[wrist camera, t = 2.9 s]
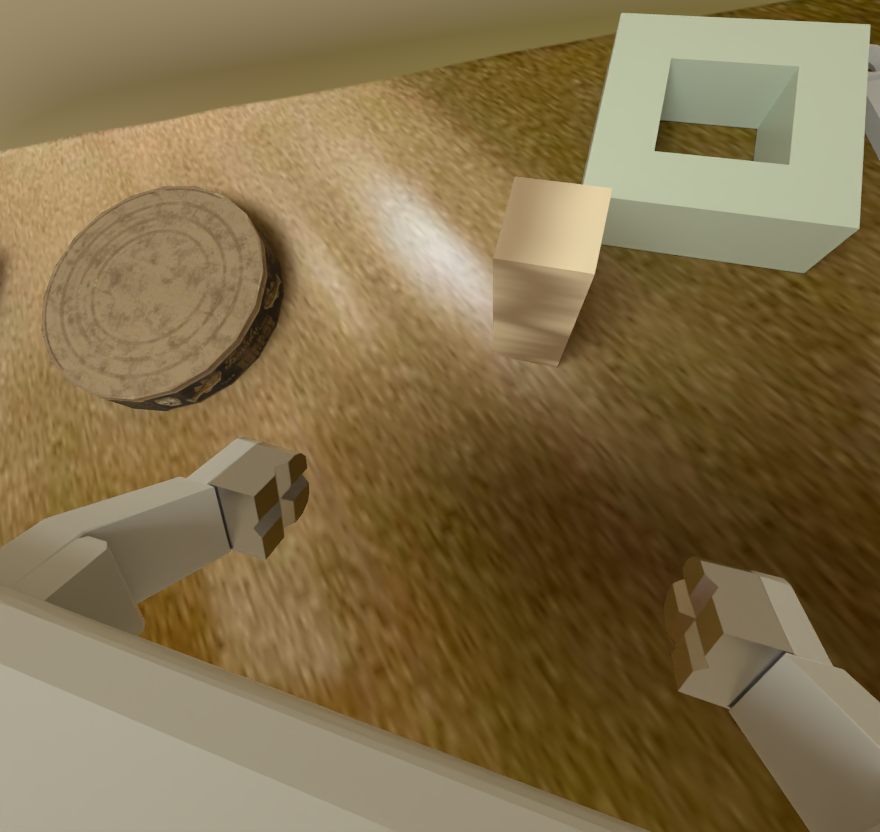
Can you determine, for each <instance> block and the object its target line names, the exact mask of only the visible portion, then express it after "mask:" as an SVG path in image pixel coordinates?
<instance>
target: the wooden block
mask: <svg viewBox="0 0 880 832" xmlns="http://www.w3.org/2000/svg"><path fill="white" fill-rule="evenodd" d="M611 193H612V188H606V187H598V186H589V185H581V184H573V183H564V182H556V181H548V180H539V179H531V178H522V177H515V178H514V182H513V186H512V189H511V193H510V197H509V201H508V204H507V208H506V212H505V216H504V219H503V223H502V227H501V231H500V234H499V238H498V242H497V246H496V249H495V253H494V257H493V355H497V356H502V357H507V358H512V359H517V360H522V361H528V362H533V363H538V364H543V365H548V366H553V367H557V366H558V364H559V362H560V359H561V357H562V354H563V352H564V349H565V347H566V344H567V342H568V339H569V337H570V334H571V332H572V329H573V327H574V324H575V322H576V319H577V317H578V315H579V312H580V310H581V307H582V305H583V302H584V300H585V297H586V295H587V292H588V290H589V287H590V285H591V282H592V280H593V277H594V275H595V271H596V266H597V261H598V256H599V251H600V247H601V242H602V237H603V232H604V227H605V222H606V217H607V212H608V208H609V203H610V198H611Z"/></svg>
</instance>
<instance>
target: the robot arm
mask: <svg viewBox="0 0 880 832" xmlns="http://www.w3.org/2000/svg"><path fill="white" fill-rule="evenodd" d="M306 469H307V463H306V456H304V455H303V454H302V453H299V452H296V451H292V450H289V449H285V448H282V447H279V446H275V445H272V444H268V443H265V442H259V441H256V440H253V439H249V438H246V437H242V438H237V439H236V440H234V441H233V442H232V443H231V444H229V445H228V446H227V447H225V448H224V449H223V450H222V451H220V452H219V453H218V454H217V455H215V456H214V457H213V458H212V459H210V460H209V461H208V462H206V463H205V464H204V465H203V466H201V467H200V468H199V469H198V470H196V471H195V472H194V473H193V474H191V475H190V476H189V477H187V478H183V477H178V478H174V479H171V480H168V481H165V482H161V483H158V484H155V485H152V486H149V487H145V488H142V489H139V490H136V491H132V492H129V493H126V494H123V495H120V496H116V497H113V498H110V499H107V500H103V501H100V502H97V503H94V504H91V505H87V506H84V507H81V508H78V509H74V510H71V511H68V512H65V513H62V514H58V515H55V516H52V517H49V518H45V519H44V520H42V521H41V522H39V523H38V524H36V525H35V526H33V527H31V528H30V529H28V530H27V531H25V532H24V533H22V534H21V535H19V536H18V537H16V538H15V539H13V540H12V541H10V542H9V543H7V544H6V545H4V546H3V547H1V548H0V832H651V831H648V830H646V829H643V828H640V827H638V826H635V825H633V824H630V823H627V822H625V821H622V820H619V819H617V818H614V817H612V816H609V815H606V814H604V813H601V812H598V811H596V810H593V809H591V808H588V807H585V806H583V805H580V804H577V803H575V802H572V801H570V800H567V799H564V798H562V797H559V796H556V795H554V794H551V793H549V792H546V791H543V790H541V789H538V788H535V787H533V786H530V785H527V784H525V783H522V782H520V781H517V780H514V779H512V778H509V777H506V776H504V775H501V774H499V773H496V772H493V771H491V770H488V769H485V768H483V767H480V766H478V765H475V764H472V763H470V762H467V761H464V760H462V759H459V758H457V757H454V756H451V755H449V754H446V753H443V752H441V751H438V750H436V749H433V748H430V747H428V746H425V745H422V744H420V743H417V742H415V741H412V740H409V739H407V738H404V737H401V736H399V735H396V734H394V733H391V732H388V731H386V730H383V729H380V728H378V727H375V726H372V725H370V724H367V723H365V722H362V721H359V720H357V719H354V718H351V717H349V716H346V715H344V714H341V713H338V712H336V711H333V710H330V709H328V708H325V707H323V706H320V705H317V704H315V703H312V702H309V701H307V700H304V699H302V698H299V697H296V696H294V695H291V694H288V693H286V692H283V691H280V690H278V689H275V688H273V687H270V686H267V685H265V684H262V683H259V682H257V681H254V680H252V679H249V678H246V677H244V676H241V675H238V674H236V673H233V672H230V671H228V670H225V669H223V668H220V667H217V666H215V665H212V664H209V663H207V662H204V661H202V660H199V659H196V658H194V657H191V656H188V655H186V654H183V653H180V652H178V651H175V650H173V649H170V648H167V647H165V646H162V645H159V644H157V643H154V642H152V641H149V640H146V639H144V638H141V637H138V635H139V634H140V633H141V632H142V631H143V630H144V629H145V620H144V618H143V616H142V614H141V612H140V610H139V608H138V606H137V604H138V603H139V602H141V601H143V600H145V599H147V598H148V597H150V596H152V595H154V594H156V593H157V592H159V591H161V590H163V589H165V588H166V587H168V586H170V585H172V584H174V583H175V582H177V581H179V580H181V579H183V578H184V577H186V576H188V575H190V574H192V573H193V572H195V571H197V570H199V569H201V568H202V567H204V566H206V565H208V564H210V563H211V562H213V561H215V560H217V559H219V558H220V557H222V556H224V555H226V554H228V553H229V552H230V550H234V551H237V552H241V553H244V554H248V555H251V556H255V557H258V558H262V559H265V560H266V559H267V558H268V557H269V555H270V554H271V553H272V551H273V550H274V549H275V548H276V546H277V545H278V544H279V543H280V541H281V540H282V539H283V538H284V527H286V526H289V525H291V524H293V523H295V522H296V521H297V520H298V519H299V517H300V516H301V515H302V513H303V511H304V509H305V507H306V504H307V502H308V497H309V483H308V482H307V480H306V479H305V477H304V476H303V475H302V473H303V472H304V471H305V470H306ZM682 572H683V575H684V579H683V580H680V581H678V582H675V583H673V584H672V586H671V587H670V589H669V591H668V593H667V595H666V599H665V604H664V623H665V629H666V633H667V634H668V635H669V637H670V638H671V639H672V640H673V642H674V643H675V644H676V645H677V646H676V647H675V649H674V650H673V652H672V653H671V660H672V665H673V670H674V675H675V680H676V685H677V690H678V691H679V692H682V693H684V694H687V695H690V696H693V697H696V698H699V699H702V700H705V701H707V702H710V703H713V704H716V705H719V706H722V707H725V708H728V709H730V710H729V713H730V714H731V716H732V717H733V719H734V720H735V722H736V723H737V725H738V726H739V727H740V729H741V730H742V732H743V733H744V735H745V736H746V738H747V739H748V741H749V742H750V744H751V745H752V747H753V748H754V750H755V751H756V753H757V754H758V756H759V757H760V759H761V760H762V761H763V763H764V764H765V766H766V767H767V769H768V770H769V772H770V773H771V775H772V776H773V778H774V779H775V781H776V782H777V784H778V785H779V787H780V788H781V790H782V791H783V793H784V794H785V795H786V797H787V798H788V800H789V801H790V803H791V804H792V806H793V807H794V809H795V810H796V812H797V813H798V815H799V816H800V818H801V819H802V821H803V822H804V824H805V825H806V827H807V828H808V829H809V831H810V832H880V702H878V701H877V700H876V699H875V698H874V697H873V696H872V695H871V694H870V693H869V692H868V691H867V690H865V689H864V688H863V687H862V686H861V685H860V684H859V683H858V682H857V681H856V680H855V679H853V678H852V677H851V676H850V675H849V674H848V673H847V672H846V671H845V670H843V669H840V668H837V667H833V665H832V663H831V661H830V659H829V657H828V655H827V654H826V652H825V650H824V648H823V646H822V644H821V642H820V640H819V638H818V636H817V634H816V632H815V631H814V629H813V627H812V625H811V623H810V621H809V619H808V617H807V615H806V613H805V611H804V609H803V608H802V606H801V604H800V602H799V600H798V598H797V596H796V594H795V592H794V590H793V588H792V586H791V585H790V584H789V583H788V582H787V581H786V580H785V579H784V578H780V577H776V576H772V575H768V574H764V573H760V572H756V571H749V570H747V569H743V568H739V567H735V566H731V565H727V564H723V563H719V562H715V561H711V560H708V559H704V558H700V557H696V556H692V557H691V558H689V559H688V560H687V561H686V563H685V564H684V566H683V567H682Z"/></svg>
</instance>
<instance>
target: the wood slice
mask: <svg viewBox="0 0 880 832" xmlns="http://www.w3.org/2000/svg"><path fill="white" fill-rule="evenodd" d="M282 298H283V285H282V277H281V269H280V263H279V261H278V259H277V257H276V256H275V254H274V252H273V250H272V248H271V246H270V244H269V243H268V241H267V239H266V238H265V237H264V235H263V234H262V233H261V231H260V230H259V229H258V228H257V226H256V225H255V224H254V223H253V221H252V220H251V219H250V218H249V216H248V215H247V214H246V213H245V212H244V211H243V210H241V209H240V208H239V207H238V206H236V205H235V204H234V203H233V202H232V201H230V200H229V199H228V198H227V197H225V196H224V195H221V194H218V193H215V192H212V191H209V190H206V189H203V188H200V187H197V186H164V187H161V188H157V189H154V190H150V191H147V192H143V193H140V194H136V195H133V196H131V197H129V198H127V199H125V200H123V201H122V202H120V203H118V204H116V205H115V206H113V207H111V208H109V209H108V210H106V211H104V212H102V213H101V214H100V215H99V216H98V217H97V218H95V219H94V220H93V221H92V222H91V223H90V224H89V225H88V226H87V227H86V228H85V229H83V230H82V231H81V232H80V233H79V234H78V235H77V236H76V237H75V238H74V239H73V241H72V242H71V244H70V245H69V247H68V248H67V250H66V251H65V253H64V254H63V255H62V257H61V258H60V260H59V261H58V263H57V264H56V266H55V268H54V271H53V273H52V276H51V279H50V281H49V284H48V287H47V290H46V292H45V295H44V298H43V312H42V328H41V331H42V334H43V338H44V341H45V344H46V348H47V351H48V354H49V358H50V360H51V361H52V363H53V364H54V365H55V366H56V367H57V369H58V370H59V371H60V372H61V373H62V374H63V376H64V377H65V378H66V379H67V380H68V382H69V383H71V384H73V385H75V386H77V387H79V388H81V389H83V390H85V391H87V392H89V393H91V394H93V395H95V396H97V397H100V398H103V399H106V400H109V401H112V402H115V403H118V404H122V405H125V406H128V407H131V408H134V409H146V410H159V411H169V410H173V409H177V408H181V407H185V406H189V405H193V404H197V403H201V402H203V401H204V400H206V399H208V398H209V397H211V396H213V395H215V394H216V393H218V392H220V391H221V390H223V389H225V388H227V387H228V386H230V385H232V384H233V383H234V382H235V381H236V380H237V379H238V378H239V377H240V376H241V375H242V374H243V373H244V372H245V371H246V370H247V369H248V368H249V367H250V366H251V365H252V364H253V363H254V362H255V361H256V360H257V359H258V358H259V356H260V355H261V353H262V351H263V349H264V347H265V346H266V344H267V342H268V340H269V338H270V337H271V335H272V333H273V331H274V329H275V328H276V326H277V321H278V317H279V312H280V307H281V303H282Z"/></svg>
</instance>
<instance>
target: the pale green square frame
mask: <svg viewBox="0 0 880 832" xmlns="http://www.w3.org/2000/svg"><path fill="white" fill-rule="evenodd" d="M869 41H870V25H868V24H847V23H825V22H804V21H783V20H761V19H740V18H719V17H697V16H676V15H654V14H653V15H652V14H633V13H621V17H620V21H619V25H618V29H617V33H616V37H615V41H614V45H613V49H612V53H611V57H610V61H609V65H608V69H607V73H606V77H605V81H604V86H603V90H602V95H601V99H600V103H599V108H598V112H597V117H596V121H595V126H594V130H593V135H592V139H591V143H590V148H589V152H588V157H587V161H586V166H585V170H584V175H583V179H582V183H581V185H589V186H598V187H606V188H612V193H611V198H610V203H609V208H608V212H607V217H606V222H605V227H604V232H603V237H602V242H601V244H603V245H610V246H617V247H623V248H630V249H637V250H644V251H651V252H658V253H665V254H672V255H679V256H686V257H693V258H700V259H707V260H714V261H721V262H728V263H735V264H742V265H749V266H756V267H763V268H770V269H777V270H784V271H791V272H798V273H805V272H806V271H807V270H809V269H810V268H811V267H812V266H814V265H815V264H816V263H817V262H819V261H820V260H821V259H822V258H823V257H825V256H826V255H827V254H828V253H830V252H831V251H832V250H833V249H835V248H836V247H837V246H838V245H840V244H841V243H842V242H843V241H845V240H846V239H847V238H848V237H849V236H851V235H852V234H853V233H854V232H856V231H857V230H858V229H859V225H860V207H861V189H862V170H863V152H864V133H865V115H866V96H867V78H868V59H869ZM660 120H664V121H675V122H686V123H697V124H709V125H720V126H731V127H742V128H753V129H757V136H756V144H755V152H754V160H753V161H746V160H736V159H726V158H717V157H707V156H697V155H687V154H678V153H668V152H658V151H654V150H655V144H656V139H657V134H658V128H659V123H660Z"/></svg>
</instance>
